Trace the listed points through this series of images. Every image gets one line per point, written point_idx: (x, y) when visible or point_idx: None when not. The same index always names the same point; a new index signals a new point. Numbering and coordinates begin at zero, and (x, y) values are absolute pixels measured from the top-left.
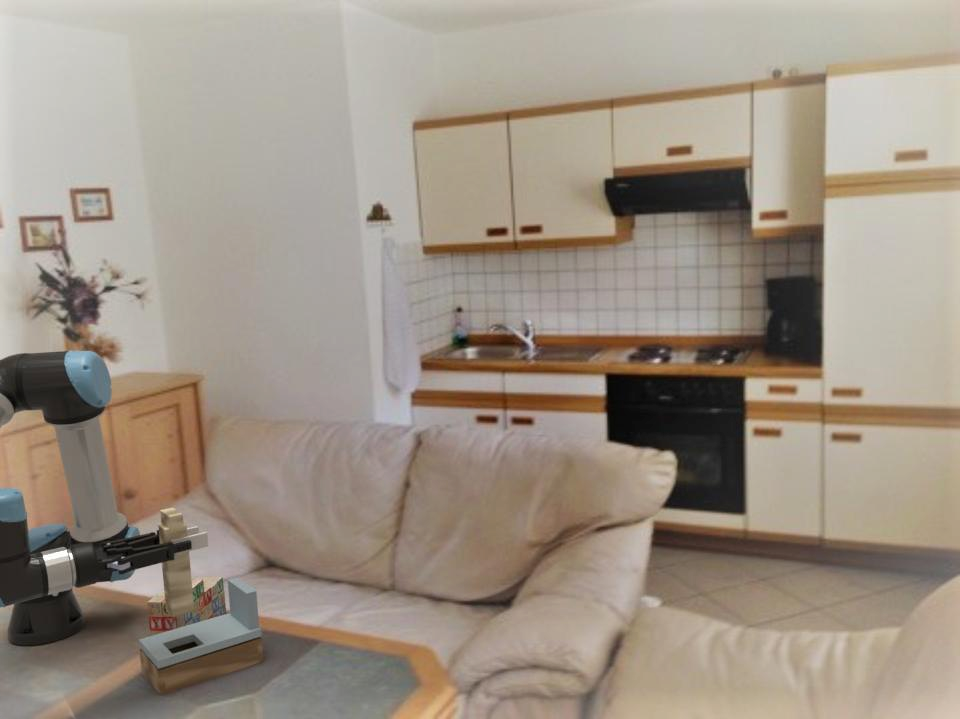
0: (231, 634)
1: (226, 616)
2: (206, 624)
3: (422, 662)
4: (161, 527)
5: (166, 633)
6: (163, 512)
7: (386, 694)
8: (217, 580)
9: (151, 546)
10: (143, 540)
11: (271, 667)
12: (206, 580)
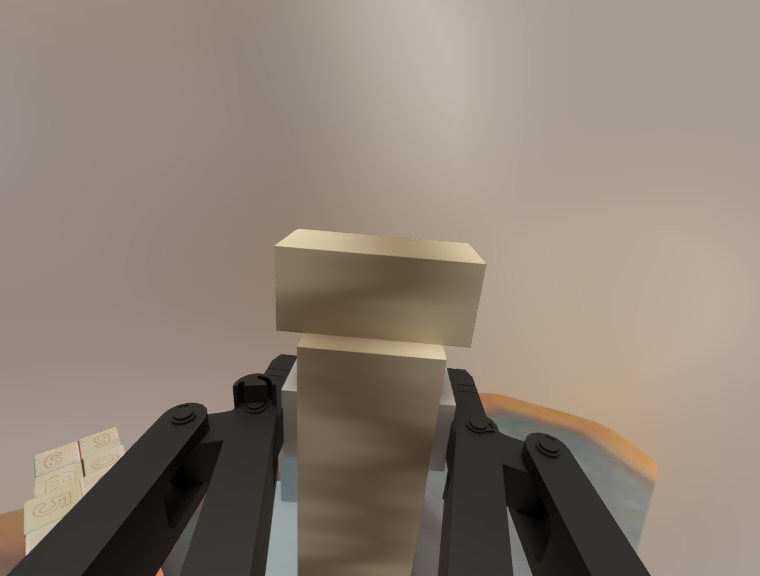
0: None
1: (280, 511)
2: (276, 570)
3: (523, 406)
4: (369, 353)
5: None
6: (347, 251)
7: (600, 469)
8: (116, 439)
9: (477, 524)
10: (260, 509)
11: (419, 542)
12: (81, 453)
